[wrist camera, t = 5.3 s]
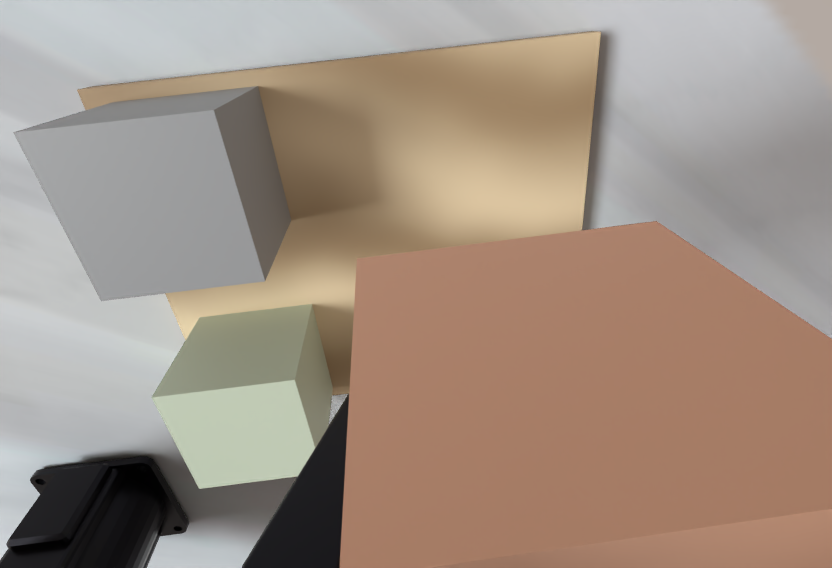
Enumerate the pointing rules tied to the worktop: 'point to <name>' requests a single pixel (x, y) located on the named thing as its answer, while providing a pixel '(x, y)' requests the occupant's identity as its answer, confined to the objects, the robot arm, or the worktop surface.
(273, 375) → the sage block
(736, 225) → the worktop surface
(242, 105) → the grey block
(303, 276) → the oak board
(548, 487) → the terracotta block
